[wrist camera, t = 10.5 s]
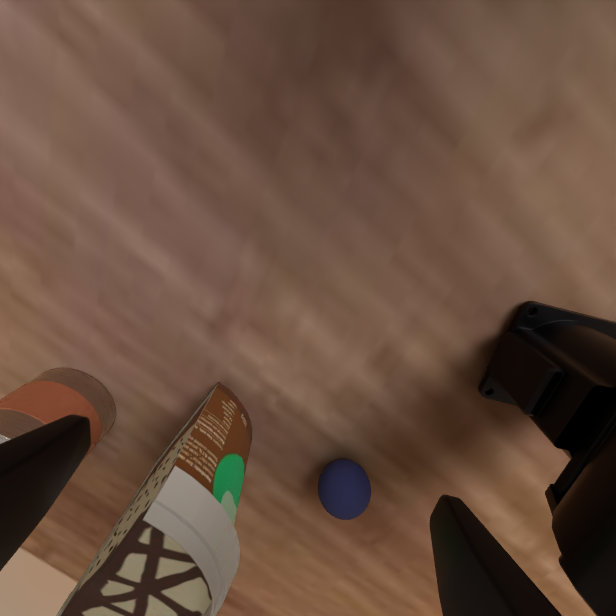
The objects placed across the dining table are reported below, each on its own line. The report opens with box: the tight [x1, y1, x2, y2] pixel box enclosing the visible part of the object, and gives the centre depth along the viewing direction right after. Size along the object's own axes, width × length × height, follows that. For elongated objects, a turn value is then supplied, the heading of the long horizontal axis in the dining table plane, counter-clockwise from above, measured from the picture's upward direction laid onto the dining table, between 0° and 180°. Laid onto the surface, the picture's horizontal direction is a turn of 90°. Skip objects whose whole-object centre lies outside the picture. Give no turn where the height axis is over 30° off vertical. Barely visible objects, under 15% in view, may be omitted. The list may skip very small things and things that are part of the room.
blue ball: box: [318, 459, 371, 520], centre depth 22 cm, size 4×4×4 cm
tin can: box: [0, 368, 116, 459], centre depth 20 cm, size 6×6×6 cm
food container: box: [57, 382, 252, 616], centre depth 19 cm, size 12×6×10 cm, turn 143°
